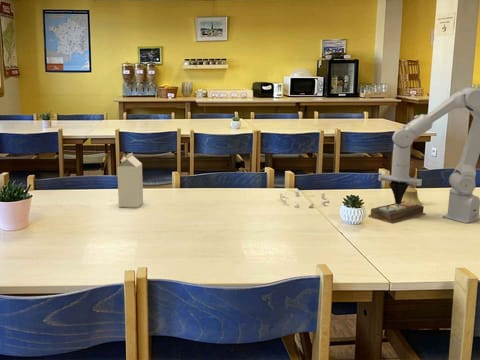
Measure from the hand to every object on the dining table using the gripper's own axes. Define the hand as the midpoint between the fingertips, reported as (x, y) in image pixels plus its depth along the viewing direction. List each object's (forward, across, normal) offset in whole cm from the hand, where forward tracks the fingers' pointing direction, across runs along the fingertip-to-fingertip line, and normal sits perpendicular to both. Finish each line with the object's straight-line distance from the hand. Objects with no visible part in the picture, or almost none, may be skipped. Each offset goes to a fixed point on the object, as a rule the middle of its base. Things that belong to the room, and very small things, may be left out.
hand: (398, 203), depth 189 cm
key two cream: (+3, 0, 0) cm, 3 cm away
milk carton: (+4, +82, +47) cm, 95 cm away
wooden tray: (+4, 0, 0) cm, 4 cm away
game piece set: (+5, +36, +3) cm, 36 cm away
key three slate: (+3, +2, +5) cm, 7 cm away
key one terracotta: (+4, -2, -5) cm, 7 cm away
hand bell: (+5, +2, -20) cm, 20 cm away
